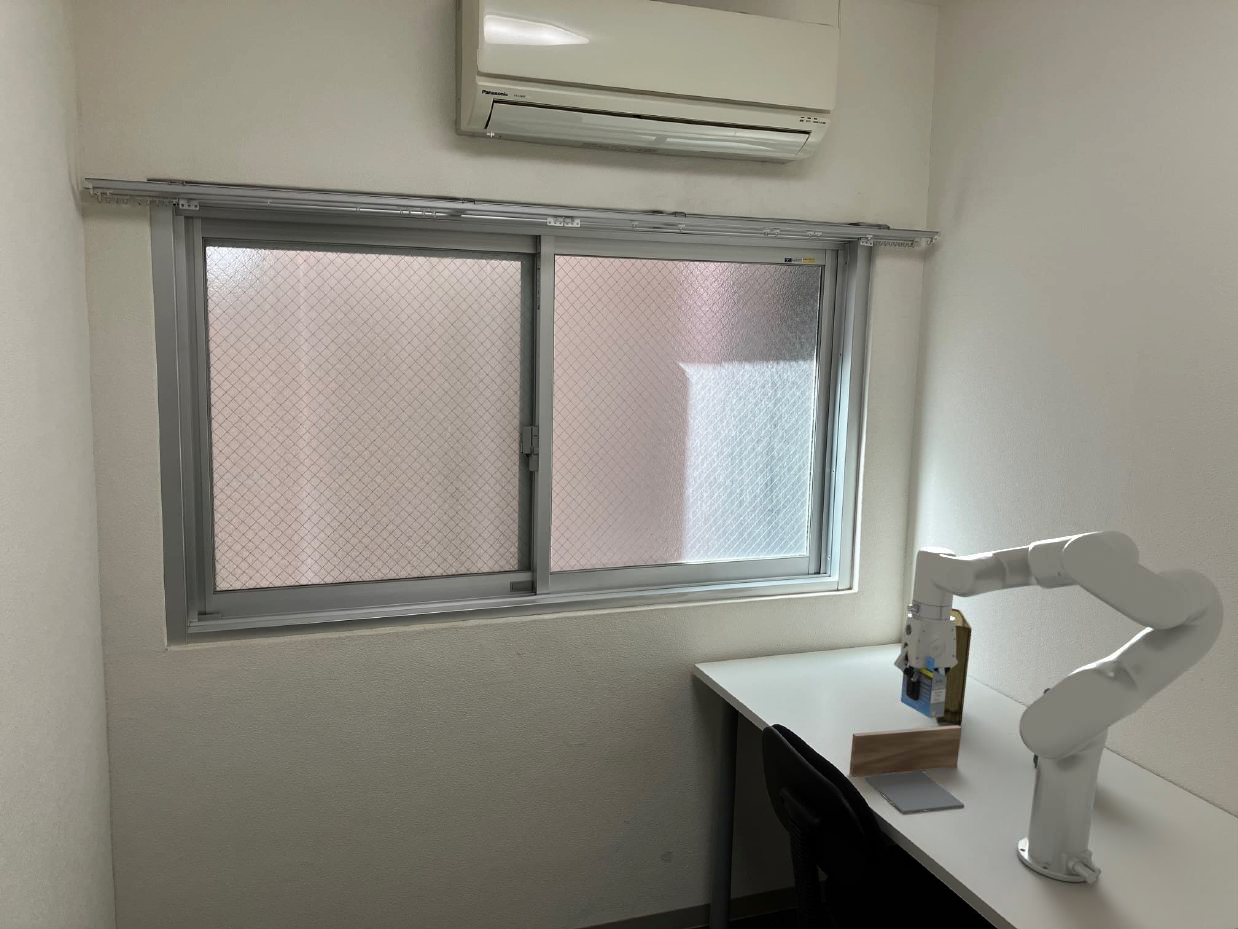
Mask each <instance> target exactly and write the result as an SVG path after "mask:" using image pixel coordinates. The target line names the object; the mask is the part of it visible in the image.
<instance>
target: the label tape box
mask: <svg viewBox="0 0 1238 929" xmlns="http://www.w3.org/2000/svg"><path fill="white" fill-rule="evenodd" d="M907 664H908V662H905V666H906V667H907ZM934 664H935V659H933V658H931V657H929V660H928V666H927V668H926V669H921V670H920V674H919V677H918V680H917V681H919V682H920V688H919V698H918V700H917V701H914V700H913V699H911V698H910V697H908V696H907V695H906V686H907V677H906V676H905V674H904V673H903V672H902V684H901V694H900V695H901V696H900V702H901V703H902V704H904V705H905V706H907V707H910V708H911V709H913V710H915V711H916V712H918V713H920V714H922V715H923V716H925V717H926V718H929V719H936V718H937V717H942V716H944V706H945V692H946V680H947V677H946V676H944V675H942V674H940V673H938V672H937V671H935V670H934ZM913 670H914V668H913ZM912 672H913V671H912Z"/></svg>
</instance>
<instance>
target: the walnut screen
mask: <svg viewBox="0 0 1238 929" xmlns="http://www.w3.org/2000/svg"><path fill="white" fill-rule="evenodd" d="M961 734H962V727H961V725H958V724H955V725H944V726H931V727H919V728H909V729H896V730H884V731H869V732H857V733H856V732H855V733H852V740H851V741H852V743H851V751H850V762H849V771H848V772H849V773H848V774H849V775H850V776H851V777H861V776H874V775H885V774H893V773H892V772H894V773H906V772H916V771H924V770H936V769H944V768H954V767H955V768H957V767H958V763H959V755H960V754H959V752H960V746H961V744H960V743H961Z"/></svg>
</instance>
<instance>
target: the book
mask: <svg viewBox="0 0 1238 929" xmlns="http://www.w3.org/2000/svg"><path fill="white" fill-rule="evenodd" d="M951 617H953V618H954V620H955V627H956V659H957V661H958V663H957V664H956V665H955V666H954V667H953V668H951V669H950V671H949V672H948V673H947V674H946V675H945V676H946V677H947V680H946V692H945V706H944V716H942V717H937V718H935V720H936V722H937V723H943V722H945V723H952V724H955V725H958V726H962V722H963V715H964V714H963V713H964V707H965V706H964V703H965V695H966V687H967V676H968V667H969V659H970V658H969V657H970V649H971V648H970V647H971V641H972V640H971V638H972V631H973V630H972V626H971V625H970V623H969V621H968V619H966V617H965V615H964V614H963V611H961V609H956V608H953V607H952V612H951Z"/></svg>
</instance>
